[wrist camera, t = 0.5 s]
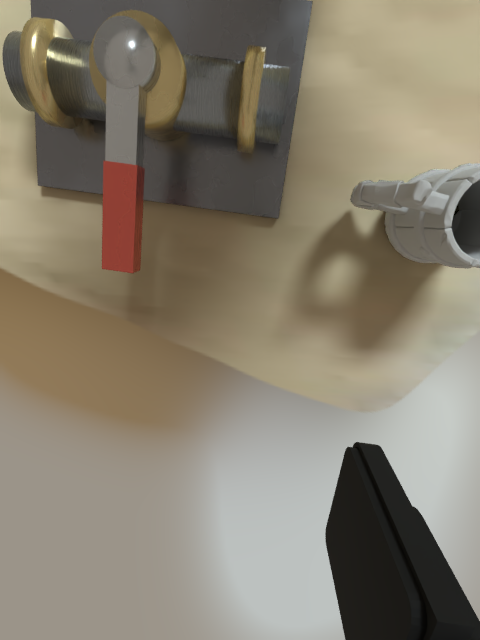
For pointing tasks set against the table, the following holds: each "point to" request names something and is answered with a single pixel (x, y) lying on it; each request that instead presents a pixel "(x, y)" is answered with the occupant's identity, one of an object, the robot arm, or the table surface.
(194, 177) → the valve body
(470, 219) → the mug
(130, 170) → the lever
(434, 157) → the table surface
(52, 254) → the table surface
